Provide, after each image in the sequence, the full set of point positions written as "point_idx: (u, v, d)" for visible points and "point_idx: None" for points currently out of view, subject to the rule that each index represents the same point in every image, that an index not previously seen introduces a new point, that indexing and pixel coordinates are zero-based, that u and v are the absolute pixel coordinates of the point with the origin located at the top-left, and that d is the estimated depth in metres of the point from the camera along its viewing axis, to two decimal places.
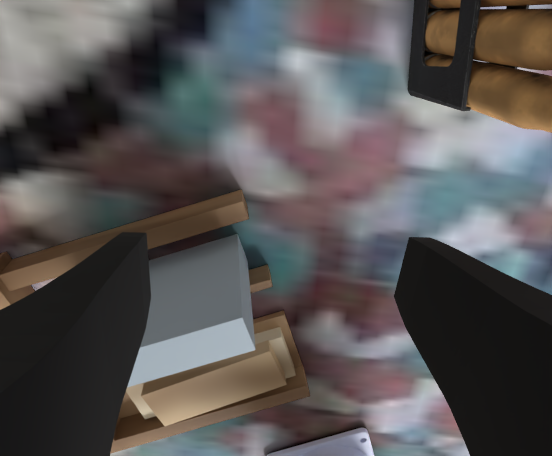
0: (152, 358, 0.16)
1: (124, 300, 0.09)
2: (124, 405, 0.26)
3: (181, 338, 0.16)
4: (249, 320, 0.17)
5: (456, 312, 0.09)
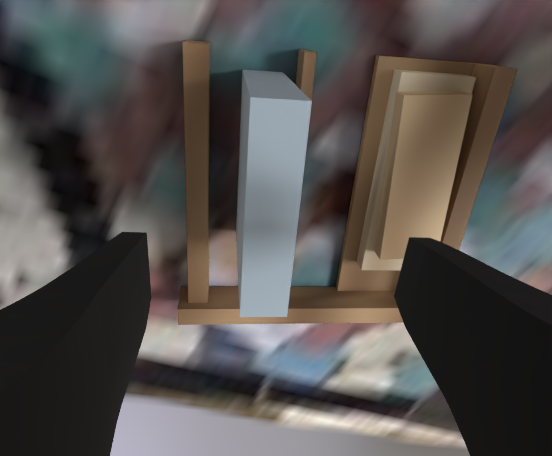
0: (265, 222, 0.14)
1: (124, 300, 0.09)
2: (397, 279, 0.24)
3: (250, 181, 0.13)
4: (285, 93, 0.13)
5: (456, 312, 0.09)
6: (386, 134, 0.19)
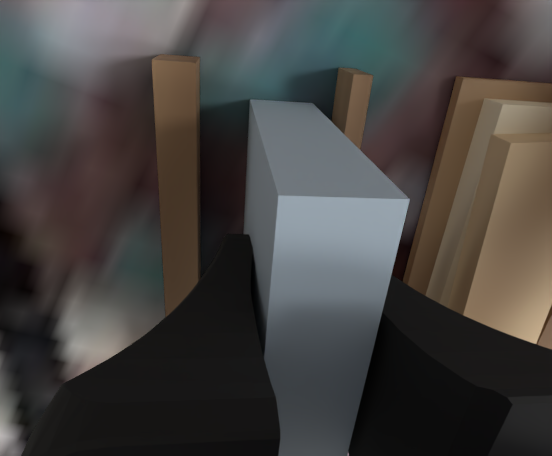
0: (299, 406, 0.07)
1: None
2: None
3: (273, 345, 0.06)
4: (343, 170, 0.06)
5: None
6: (467, 194, 0.13)
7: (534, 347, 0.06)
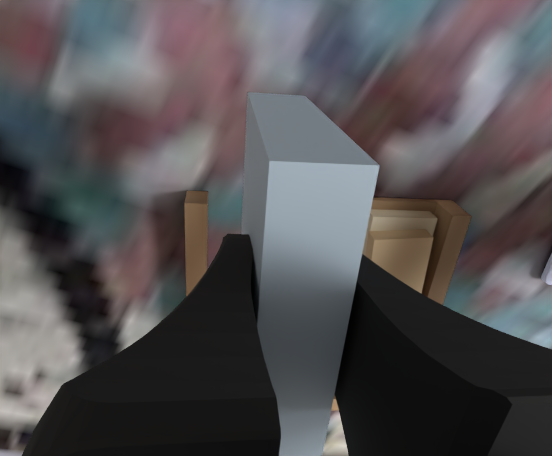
0: (289, 353, 0.08)
1: None
2: None
3: (266, 295, 0.08)
4: (326, 145, 0.08)
5: None
6: None
7: (534, 347, 0.06)
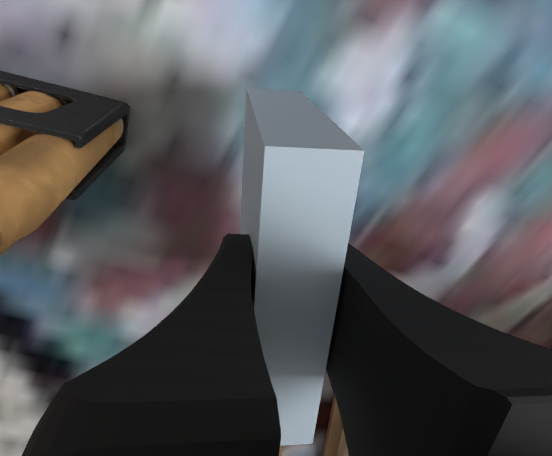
0: (284, 326, 0.09)
1: None
2: None
3: (263, 270, 0.08)
4: (317, 133, 0.08)
5: (342, 313, 0.09)
6: None
7: (534, 347, 0.06)
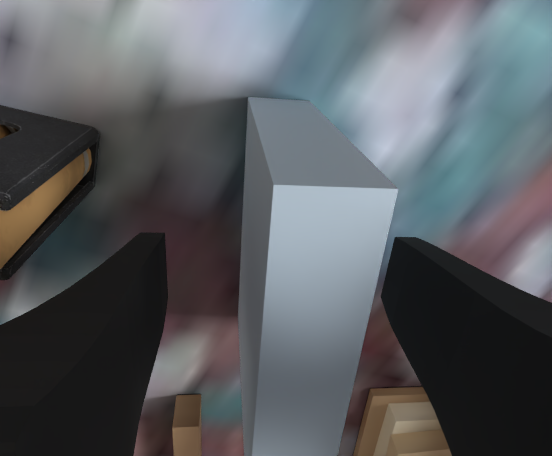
0: (294, 389, 0.07)
1: (146, 300, 0.09)
2: None
3: (269, 329, 0.07)
4: (336, 162, 0.07)
5: (439, 312, 0.09)
6: None
7: None
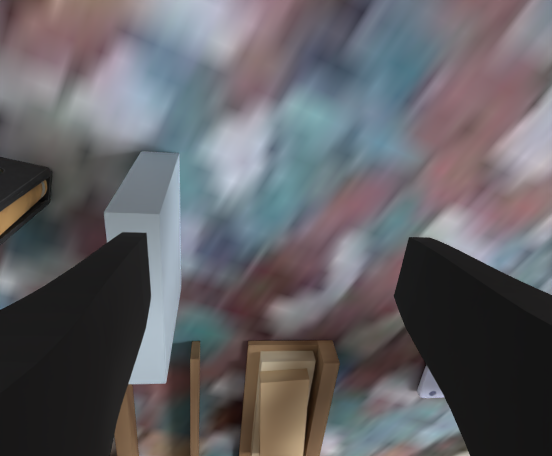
0: None
1: (124, 300, 0.09)
2: None
3: None
4: (146, 200, 0.15)
5: (456, 312, 0.09)
6: (258, 389, 0.27)
7: None
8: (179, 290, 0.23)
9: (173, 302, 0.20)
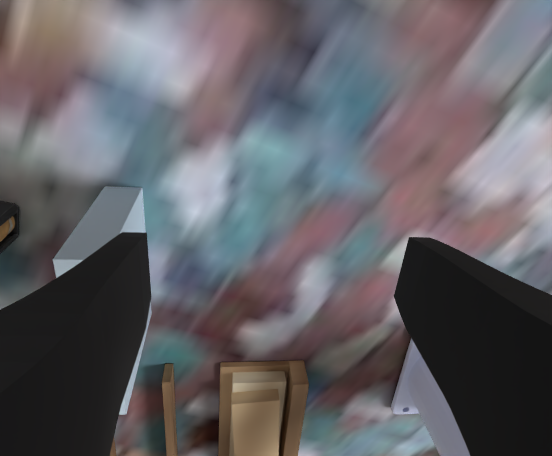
0: None
1: (124, 300, 0.09)
2: None
3: None
4: (97, 243, 0.15)
5: (456, 312, 0.09)
6: (231, 409, 0.27)
7: None
8: (148, 317, 0.23)
9: None
